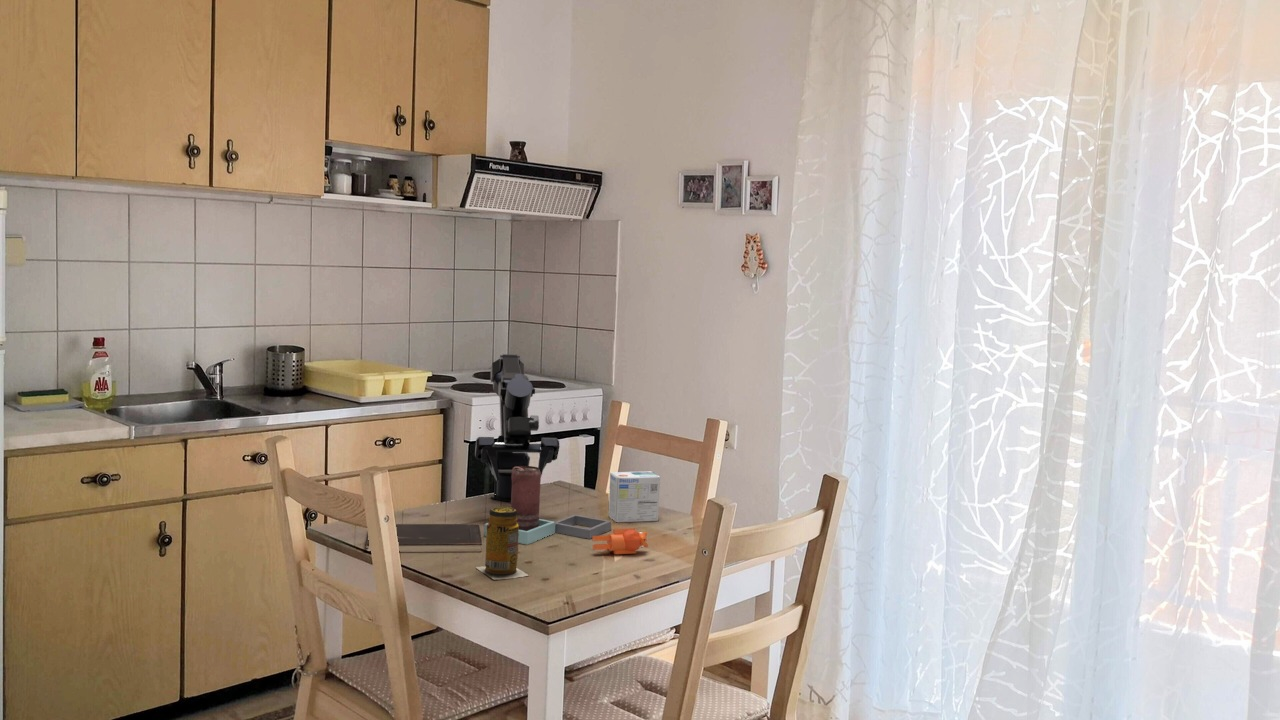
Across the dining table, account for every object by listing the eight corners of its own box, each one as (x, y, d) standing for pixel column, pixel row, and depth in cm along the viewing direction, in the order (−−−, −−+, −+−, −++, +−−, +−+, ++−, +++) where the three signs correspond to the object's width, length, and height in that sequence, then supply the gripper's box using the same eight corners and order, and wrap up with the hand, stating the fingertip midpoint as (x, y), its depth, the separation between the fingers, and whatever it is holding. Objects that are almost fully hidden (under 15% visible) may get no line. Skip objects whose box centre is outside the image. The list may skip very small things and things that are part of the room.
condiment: (510, 564, 200) (512, 504, 199) (529, 576, 193) (531, 514, 192) (475, 568, 196) (477, 507, 195) (493, 581, 189) (495, 517, 188)
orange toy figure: (596, 529, 207) (652, 527, 211) (586, 531, 214) (640, 529, 218) (597, 554, 206) (653, 552, 210) (587, 556, 213) (641, 553, 217)
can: (511, 526, 225) (513, 464, 224) (540, 528, 225) (542, 466, 224) (506, 534, 219) (509, 469, 218) (536, 535, 219) (538, 471, 218)
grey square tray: (551, 531, 225) (552, 523, 225) (574, 523, 234) (574, 514, 233) (589, 539, 221) (589, 530, 221) (610, 529, 229) (611, 521, 229)
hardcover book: (481, 554, 207) (482, 543, 207) (364, 555, 203) (364, 544, 203) (478, 533, 223) (479, 523, 223) (369, 533, 218) (370, 523, 218)
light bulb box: (649, 514, 245) (652, 470, 244) (659, 521, 239) (661, 476, 238) (607, 515, 242) (609, 471, 241) (615, 523, 236) (617, 477, 235)
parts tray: (484, 536, 219) (484, 524, 219) (513, 525, 229) (513, 514, 228) (527, 544, 214) (527, 532, 214) (555, 533, 224) (555, 521, 224)
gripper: (477, 401, 229) (478, 460, 220) (560, 403, 233) (564, 461, 224) (474, 429, 238) (475, 487, 228) (554, 431, 242) (558, 487, 232)
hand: (518, 480), depth 228 cm, fingers open, 9 cm apart
